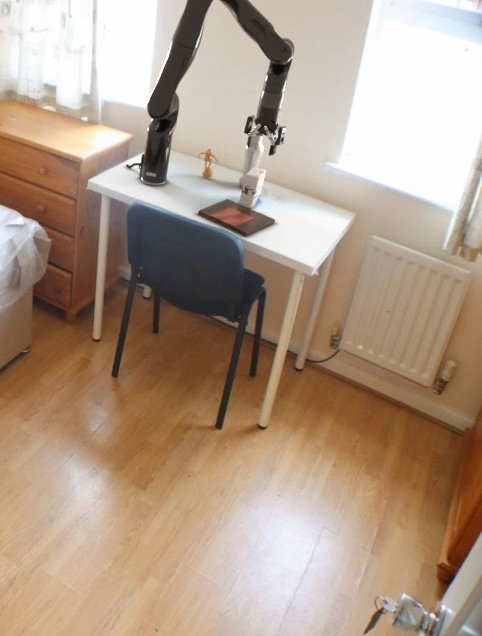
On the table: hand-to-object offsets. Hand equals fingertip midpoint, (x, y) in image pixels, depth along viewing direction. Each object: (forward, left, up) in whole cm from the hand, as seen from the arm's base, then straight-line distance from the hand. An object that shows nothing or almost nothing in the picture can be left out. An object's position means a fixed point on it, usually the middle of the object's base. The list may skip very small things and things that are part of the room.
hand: (260, 151), depth 242 cm
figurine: (-23, +4, -19) cm, 30 cm away
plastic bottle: (-9, +11, -19) cm, 24 cm away
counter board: (+5, -15, -19) cm, 24 cm away
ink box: (0, 0, -19) cm, 19 cm away
